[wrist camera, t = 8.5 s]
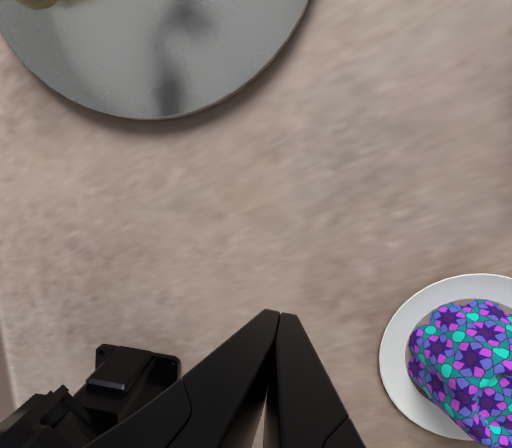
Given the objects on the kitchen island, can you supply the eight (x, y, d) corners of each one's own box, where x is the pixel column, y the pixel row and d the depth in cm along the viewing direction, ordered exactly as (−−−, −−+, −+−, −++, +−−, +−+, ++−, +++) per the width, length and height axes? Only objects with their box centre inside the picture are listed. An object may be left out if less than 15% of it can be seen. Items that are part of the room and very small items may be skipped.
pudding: (606, 369, 22) (702, 432, 17) (448, 460, 24) (489, 540, 19) (489, 232, 21) (551, 254, 16) (340, 340, 24) (352, 389, 19)
